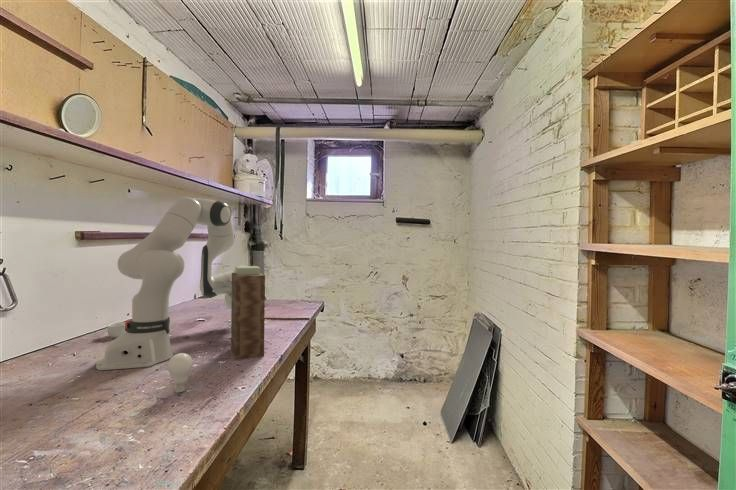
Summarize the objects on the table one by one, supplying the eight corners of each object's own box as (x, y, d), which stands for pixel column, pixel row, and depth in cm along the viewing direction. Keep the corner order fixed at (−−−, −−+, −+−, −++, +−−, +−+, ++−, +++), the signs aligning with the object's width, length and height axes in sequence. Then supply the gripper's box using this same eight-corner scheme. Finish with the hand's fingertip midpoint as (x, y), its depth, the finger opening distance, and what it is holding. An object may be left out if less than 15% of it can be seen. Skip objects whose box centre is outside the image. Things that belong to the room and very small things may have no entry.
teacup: (128, 337, 151) (128, 325, 150) (106, 340, 146) (106, 327, 146) (129, 332, 159) (129, 320, 159) (108, 334, 155) (108, 322, 154)
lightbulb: (185, 397, 96) (185, 357, 96) (162, 397, 96) (162, 357, 96) (197, 387, 102) (197, 350, 102) (175, 387, 102) (175, 349, 102)
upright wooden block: (235, 360, 125) (236, 276, 125) (231, 348, 138) (231, 272, 137) (264, 356, 130) (264, 275, 129) (257, 345, 142) (258, 271, 142)
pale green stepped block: (237, 275, 129) (237, 268, 129) (231, 270, 146) (232, 264, 146) (260, 274, 132) (260, 267, 132) (252, 269, 149) (252, 263, 149)
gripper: (211, 285, 159) (213, 273, 148) (258, 284, 169) (263, 271, 158) (212, 299, 156) (214, 286, 146) (259, 296, 166) (264, 284, 155)
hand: (240, 279), depth 152 cm, fingers open, 8 cm apart
